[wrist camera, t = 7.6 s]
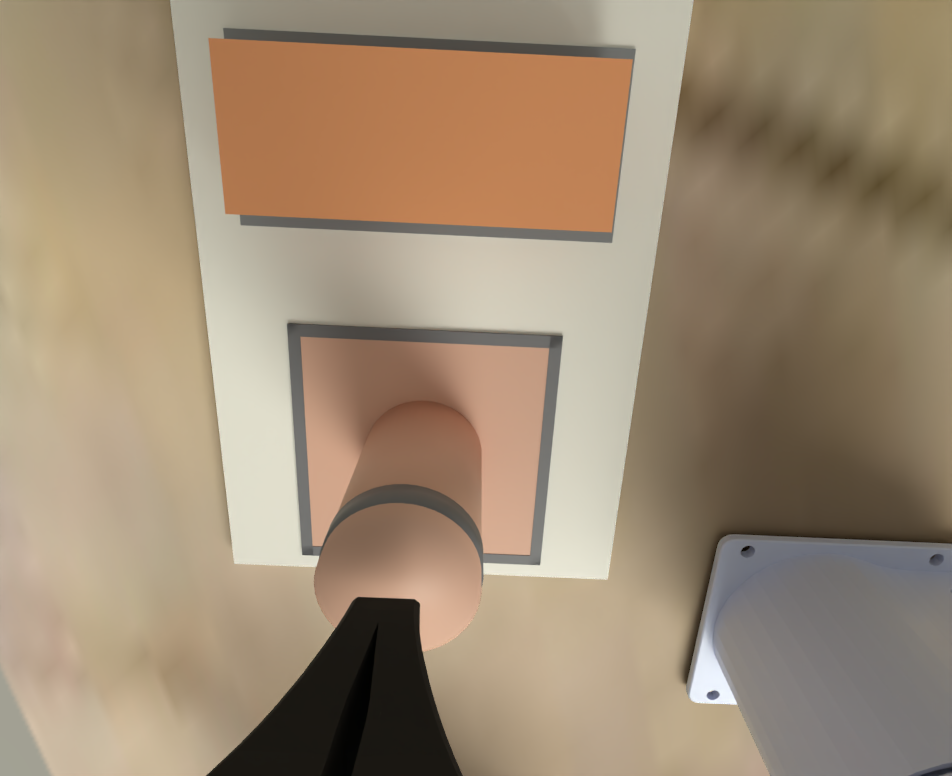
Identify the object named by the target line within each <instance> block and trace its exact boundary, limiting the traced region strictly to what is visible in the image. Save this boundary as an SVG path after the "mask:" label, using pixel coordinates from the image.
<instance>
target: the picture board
mask: <svg viewBox="0 0 952 776" xmlns="http://www.w3.org/2000/svg"><path fill="white" fill-rule="evenodd" d="M693 1H694V0H170V5H171V14H172V22H173V31H174V40H175V49H176V57H177V66H178V75H179V84H180V92H181V101H182V110H183V119H184V128H185V136H186V145H187V154H188V163H189V171H190V180H191V189H192V198H193V206H194V215H195V224H196V233H197V241H198V250H199V259H200V268H201V276H202V285H203V294H204V303H205V311H206V320H207V329H208V338H209V346H210V355H211V364H212V373H213V382H214V390H215V399H216V408H217V417H218V425H219V434H220V443H221V452H222V460H223V469H224V478H225V487H226V495H227V504H228V513H229V522H230V530H231V539H232V548H233V557H234V564H255V565H278V566H302V567H316V566H317V563H318V560H319V555H320V550H321V547H322V545H323V542H324V540H325V537H326V535H327V532H328V530H329V527H330V525H331V523H332V521H333V519H334V517H335V516H336V514H337V513H338V510H339V508H340V505H341V503H342V500H343V497H344V495H345V492H346V490H347V487H348V485H349V482H350V480H351V477H352V475H353V472H354V470H355V467H356V465H357V462H358V460H359V457H360V455H361V452H362V450H363V447H364V445H365V442H366V440H367V437H368V435H369V432H370V430H371V428H372V427H373V425H374V424H375V422H376V421H377V420H378V419H379V418H380V417H381V416H382V415H383V414H384V413H385V412H387V411H388V410H390V409H391V408H393V407H395V406H398V405H400V404H403V403H407V402H412V401H432V402H437V403H441V404H443V405H446V406H449V407H451V408H452V409H454V410H456V411H457V412H459V413H460V414H462V415H463V416H464V417H465V418H466V419H467V420H468V421H469V422H470V423H471V425H472V426H473V428H474V429H475V431H476V433H477V435H478V437H479V441H480V444H481V450H482V543H483V574H490V575H513V576H537V577H560V578H584V579H607V580H608V573H609V566H610V560H611V553H612V546H613V539H614V533H615V526H616V519H617V513H618V506H619V499H620V492H621V486H622V479H623V472H624V466H625V459H626V452H627V445H628V439H629V432H630V425H631V418H632V412H633V405H634V398H635V392H636V385H637V378H638V371H639V365H640V358H641V351H642V344H643V338H644V331H645V324H646V318H647V311H648V304H649V297H650V291H651V284H652V277H653V270H654V264H655V257H656V250H657V244H658V237H659V230H660V223H661V217H662V210H663V203H664V197H665V190H666V183H667V176H668V170H669V163H670V156H671V149H672V143H673V136H674V129H675V123H676V116H677V109H678V102H679V96H680V89H681V82H682V75H683V69H684V62H685V55H686V49H687V42H688V35H689V28H690V22H691V15H692V8H693ZM208 38H218V39H238V40H258V41H277V42H297V43H317V44H337V45H357V46H377V47H396V48H416V49H436V50H456V51H476V52H496V53H515V54H535V55H555V56H575V57H595V58H614V59H633V62H632V70H631V78H630V86H629V95H628V103H627V111H626V119H625V127H624V136H623V144H622V152H621V160H620V168H619V177H618V185H617V193H616V201H615V210H614V218H613V226H612V232H591V231H570V230H549V229H528V228H507V227H486V226H465V225H444V224H423V223H402V222H381V221H361V220H340V219H319V218H298V217H277V216H256V215H235V214H225V206H224V195H223V185H222V175H221V164H220V154H219V144H218V133H217V123H216V113H215V102H214V92H213V82H212V71H211V61H210V51H209V40H208Z"/></svg>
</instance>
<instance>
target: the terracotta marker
mask: <svg viewBox="0 0 952 776" xmlns="http://www.w3.org/2000/svg"><path fill="white" fill-rule="evenodd" d="M482 583H483V543H482V450H481V444H480V441H479V437H478V435H477V433H476V431H475V429H474V428H473V426H472V425H471V423H470V422H469V421H468V420H467V419H466V418H465V417H464V416H463V415H462V414H460V413H459V412H457V411H456V410H454V409H452V408H451V407H449V406H446V405H443V404H441V403H437V402H432V401H412V402H407V403H403V404H400V405H398V406H395V407H393V408H391V409H390V410H388V411H387V412H385V413H384V414H383V415H382V416H381V417H380V418H379V419H378V420H377V421H376V422H375V424H374V425H373V427H372V428H371V430H370V432H369V435H368V437H367V440H366V442H365V445H364V447H363V450H362V452H361V455H360V457H359V460H358V462H357V465H356V467H355V470H354V472H353V475H352V477H351V480H350V482H349V485H348V487H347V490H346V492H345V495H344V497H343V500H342V503H341V505H340V508H339V510H338V513H337V514H336V516H335V517H334V519H333V521H332V523H331V525H330V527H329V530H328V532H327V535H326V537H325V540H324V542H323V545H322V547H321V550H320V555H319V560H318V563H317V566H316V570H315V575H314V588H315V594H316V598H317V601H318V604H319V606H320V608H321V610H322V612H323V614H324V615H325V617H326V618H327V620H328V621H329V622H330V623H331V624H332V625H333V626H334V627H335V628H336V627H337V625H338V624H339V622H340V621H341V619H342V618H343V616H344V614H345V613H346V611H347V609H348V608H349V606H350V604H351V603H352V601H353V600H354V599H355V598H357V597H376V598H401V599H416V600H417V601H418V602H419V603H420V638H421V646H422V652H424V651H428V650H431V649H434V648H437V647H439V646H442V645H444V644H446V643H448V642H449V641H451V640H453V639H454V638H455V637H457V636H458V635H459V634H460V633H462V632H463V631H464V630H465V628H466V627H467V626H468V625H469V624H470V622H471V621H472V619H473V618H474V616H475V614H476V612H477V610H478V607H479V604H480V599H481V588H482Z"/></svg>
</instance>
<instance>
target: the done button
mask: <svg viewBox="0 0 952 776" xmlns="http://www.w3.org/2000/svg"><path fill="white" fill-rule="evenodd" d="M208 40H209V51H210V61H211V71H212V82H213V92H214V102H215V113H216V123H217V133H218V144H219V154H220V164H221V175H222V185H223V195H224V206H225V214H235V215H256V216H277V217H298V218H319V219H340V220H361V221H381V222H402V223H423V224H444V225H465V226H486V227H507V228H528V229H549V230H570V231H591V232H612V226H613V218H614V210H615V201H616V193H617V185H618V177H619V168H620V160H621V152H622V144H623V136H624V127H625V119H626V111H627V103H628V95H629V86H630V78H631V70H632V62H633V59H614V58H595V57H575V56H555V55H535V54H515V53H496V52H476V51H456V50H436V49H416V48H396V47H377V46H357V45H337V44H317V43H297V42H277V41H258V40H238V39H218V38H208Z"/></svg>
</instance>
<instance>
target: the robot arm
mask: <svg viewBox="0 0 952 776" xmlns="http://www.w3.org/2000/svg"><path fill="white" fill-rule="evenodd" d="M745 546H750V548H749V549H748V550H746V551H741V550H742V548H744V547H745ZM935 554H936V555H935ZM933 555H935V556H934V557H933V558H931V557H932V556H933ZM930 558H931V559H930ZM712 690H714V691H712ZM710 691H712V692H710ZM686 692H687V694H688V697H689V698H690V700H692V701H693V702H697V703H713V704H737V705H738V707H739V709H740V711H741V713H742V715H743V718H744V720H745V722H746V724H747V726H748V728H749V731H750V733H751V735H752V737H753V739H754V741H755V744H756V746H757V748H758V750H759V752H760V754H761V757H762V759H763V761H764V763H765V765H766V767H767V770H768V772H769V774H770V776H952V544H947V543H924V542H901V541H878V540H855V539H832V538H809V537H786V536H763V535H740V534H731V535H727V536H725V537H723V538H722V539H721V540H720V541H719V543H718V545H717V550H716V554H715V559H714V563H713V568H712V572H711V577H710V581H709V586H708V590H707V595H706V599H705V604H704V608H703V613H702V617H701V622H700V626H699V631H698V636H697V640H696V645H695V649H694V654H693V658H692V663H691V667H690V672H689V676H688V681H687V685H686ZM206 776H462V773H461V771H460V769H459V766H458V764H457V762H456V759H455V757H454V755H453V752H452V749H451V747H450V744H449V742H448V739H447V737H446V734H445V731H444V728H443V726H442V723H441V720H440V717H439V714H438V710H437V707H436V704H435V701H434V697H433V694H432V690H431V687H430V683H429V679H428V675H427V670H426V666H425V662H424V657H423V652H422V646H421V638H420V603H419V602H418V601H417V600H416V599H401V598H376V597H357V598H355V599H354V600H353V601H352V603H351V604H350V606H349V608H348V609H347V611H346V613H345V614H344V616H343V618H342V619H341V621H340V622H339V624H338V625H337V627H336V628H335V630H334V631H333V633H332V634H331V636H330V637H329V639H328V640H327V642H326V643H325V644H324V646H323V647H322V649H321V650H320V651H319V653H318V654H317V655H316V657H315V658H314V659H313V661H312V662H311V663H310V665H309V666H308V667H307V669H306V670H305V671H304V673H303V674H302V675H301V676H300V678H299V679H298V680H297V681H296V682H295V684H294V685H293V686H292V687H291V688H290V690H289V691H288V692H287V693H286V694H285V696H284V697H283V698H282V699H281V700H280V702H279V703H278V704H277V705H276V706H275V707H274V709H273V710H272V711H271V712H270V713H269V714H268V715H267V716H266V717H265V718H264V720H263V721H262V722H261V723H260V724H259V725H258V726H257V727H256V728H255V729H254V730H253V731H252V732H251V733H250V734H249V735H248V736H247V737H246V738H245V739H244V740H243V741H242V742H241V743H240V744H239V745H238V746H237V747H236V748H235V749H234V750H233V751H232V752H231V753H230V754H229V755H228V756H227V757H226V758H225V759H224V760H222V761H221V762H220V763H219V764H218V765H217V766H216V767H215V768H214V769H213V770H212V771H211V772H210V773H208V774H207V775H206Z"/></svg>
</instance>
